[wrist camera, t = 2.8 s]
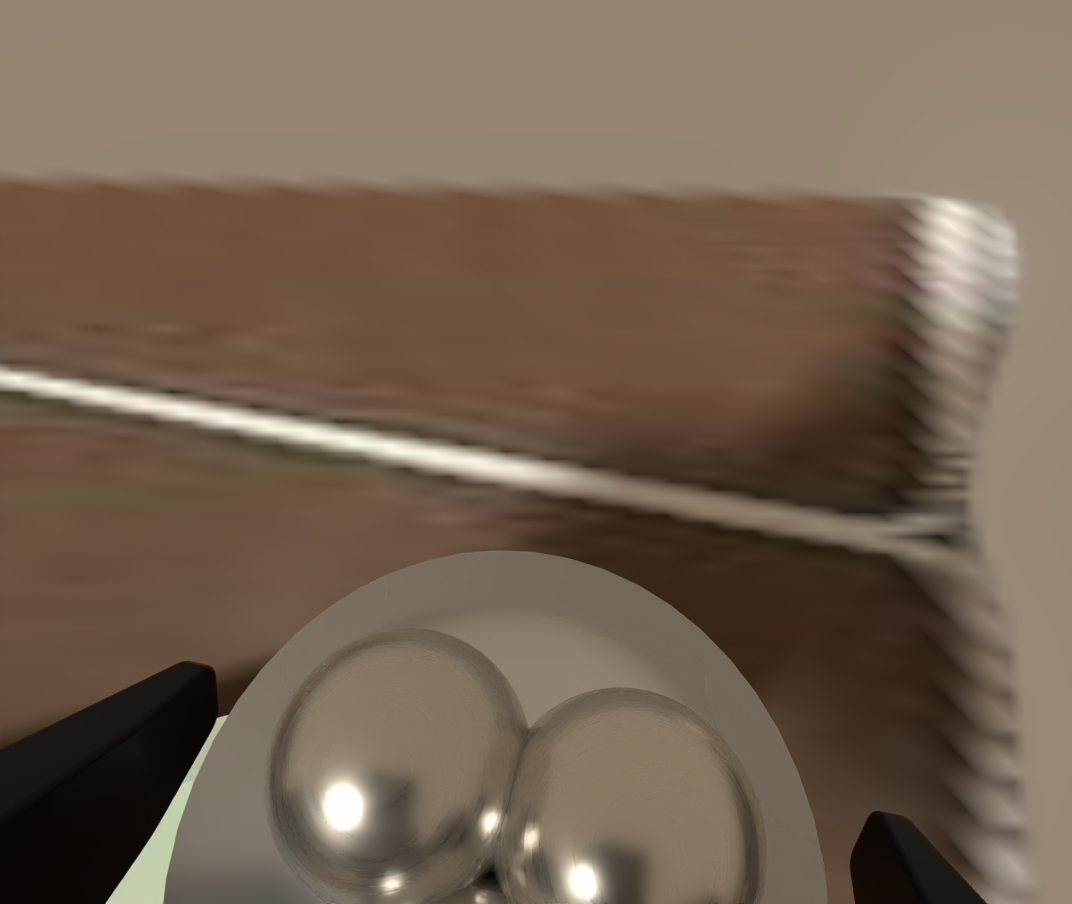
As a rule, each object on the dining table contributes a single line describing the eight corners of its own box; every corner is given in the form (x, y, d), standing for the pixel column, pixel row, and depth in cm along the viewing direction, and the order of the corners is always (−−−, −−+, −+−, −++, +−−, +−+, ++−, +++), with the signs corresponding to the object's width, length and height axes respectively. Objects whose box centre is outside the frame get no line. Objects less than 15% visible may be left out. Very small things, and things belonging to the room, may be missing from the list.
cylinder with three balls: (655, 852, 15) (1080, 1312, 3) (454, 919, 15) (59, 1761, 3) (592, 645, 17) (712, 442, 5) (411, 699, 16) (63, 619, 5)
